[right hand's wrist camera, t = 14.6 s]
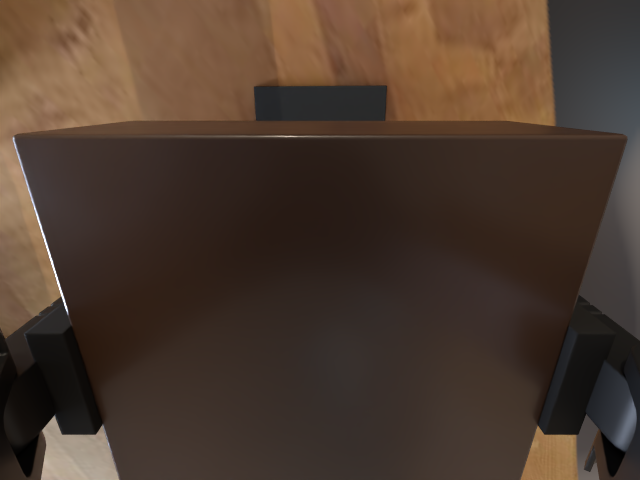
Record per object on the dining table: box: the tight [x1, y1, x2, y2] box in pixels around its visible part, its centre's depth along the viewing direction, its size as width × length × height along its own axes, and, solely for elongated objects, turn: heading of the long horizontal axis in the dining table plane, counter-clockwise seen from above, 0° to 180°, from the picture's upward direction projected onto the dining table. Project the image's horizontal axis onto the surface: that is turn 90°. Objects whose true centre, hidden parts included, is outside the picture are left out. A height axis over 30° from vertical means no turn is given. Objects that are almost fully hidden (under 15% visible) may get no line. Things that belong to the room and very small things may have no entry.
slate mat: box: [254, 86, 387, 121], centre depth 37 cm, size 13×13×1 cm
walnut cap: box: [13, 121, 627, 480], centre depth 9 cm, size 10×10×4 cm
